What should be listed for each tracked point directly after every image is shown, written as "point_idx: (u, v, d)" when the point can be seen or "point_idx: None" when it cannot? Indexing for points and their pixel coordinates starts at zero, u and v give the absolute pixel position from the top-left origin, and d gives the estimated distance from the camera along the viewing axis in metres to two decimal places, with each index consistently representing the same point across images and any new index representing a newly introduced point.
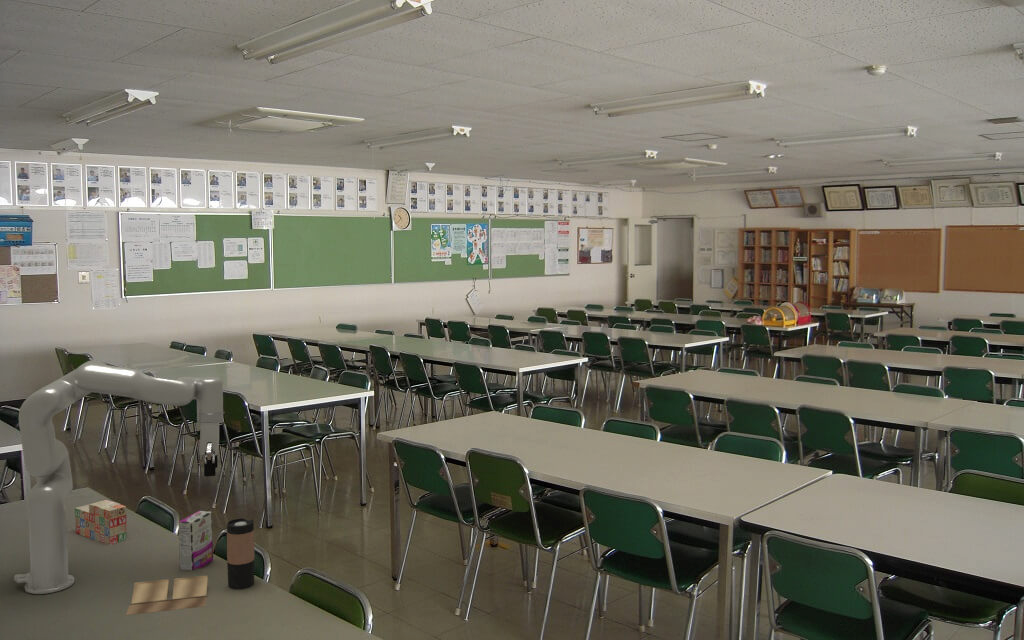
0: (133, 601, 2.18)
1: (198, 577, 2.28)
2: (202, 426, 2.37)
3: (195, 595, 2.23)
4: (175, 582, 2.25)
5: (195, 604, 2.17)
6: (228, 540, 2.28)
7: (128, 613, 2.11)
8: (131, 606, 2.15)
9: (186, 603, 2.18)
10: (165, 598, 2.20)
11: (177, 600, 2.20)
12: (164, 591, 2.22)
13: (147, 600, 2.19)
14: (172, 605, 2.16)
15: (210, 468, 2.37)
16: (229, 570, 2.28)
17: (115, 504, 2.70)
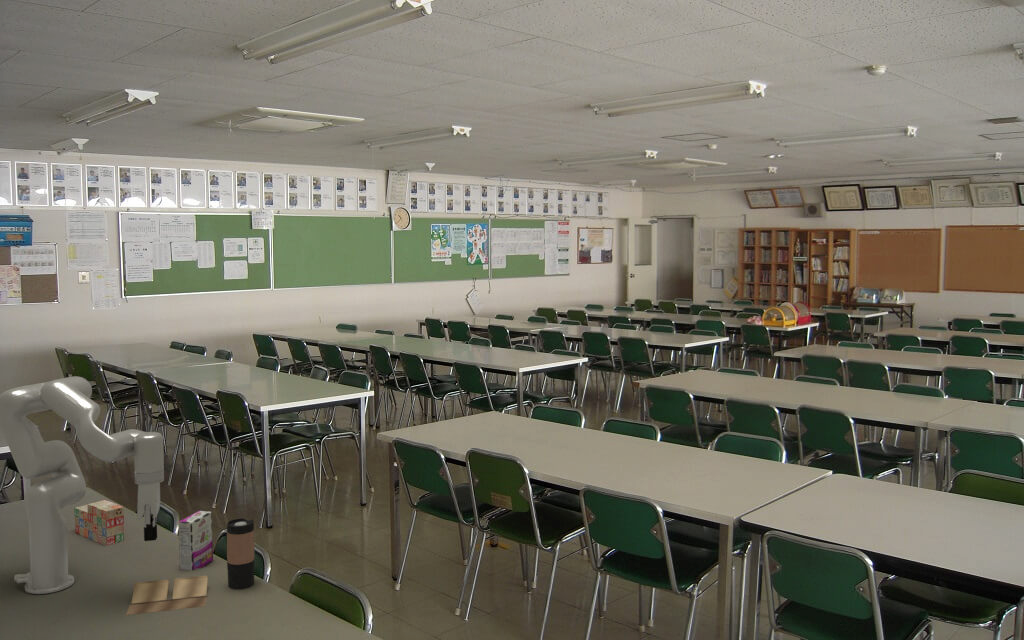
0: (133, 601, 2.18)
1: (198, 577, 2.28)
2: (139, 487, 2.17)
3: (195, 595, 2.23)
4: (175, 582, 2.25)
5: (195, 604, 2.17)
6: (228, 540, 2.28)
7: (128, 613, 2.11)
8: (131, 606, 2.15)
9: (186, 603, 2.18)
10: (165, 598, 2.20)
11: (177, 600, 2.20)
12: (164, 591, 2.22)
13: (147, 600, 2.19)
14: (172, 605, 2.16)
15: (150, 532, 2.21)
16: (229, 570, 2.28)
17: (113, 504, 2.70)
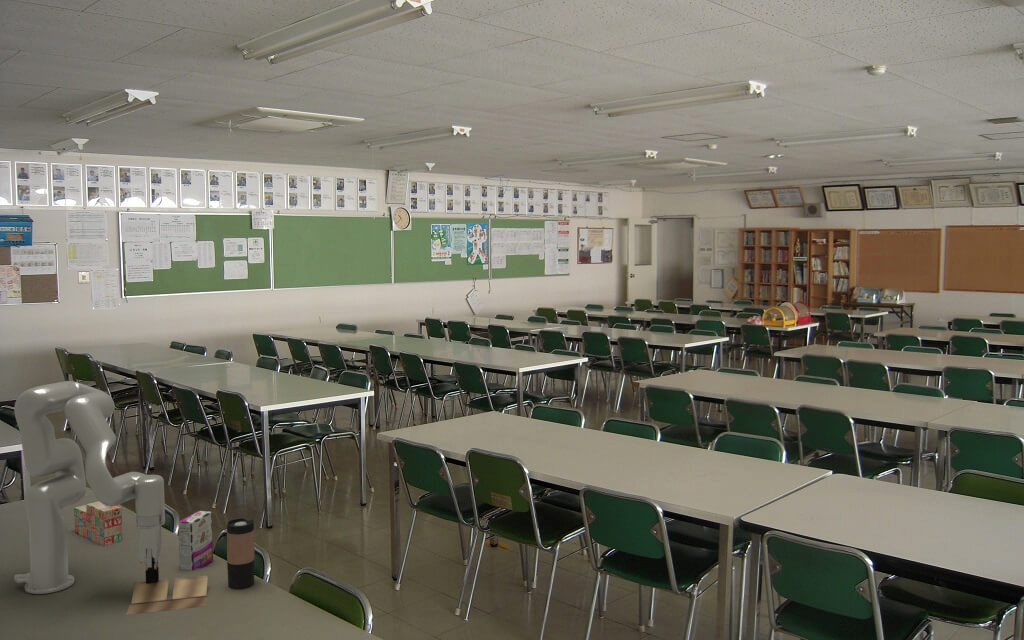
0: (133, 601, 2.18)
1: (198, 577, 2.28)
2: (141, 531, 2.18)
3: (195, 595, 2.23)
4: (175, 582, 2.25)
5: (195, 604, 2.17)
6: (228, 540, 2.28)
7: (128, 613, 2.11)
8: (131, 606, 2.15)
9: (186, 603, 2.18)
10: (165, 598, 2.20)
11: (177, 600, 2.20)
12: (164, 591, 2.22)
13: (147, 600, 2.19)
14: (172, 605, 2.16)
15: (152, 575, 2.22)
16: (229, 570, 2.28)
17: None
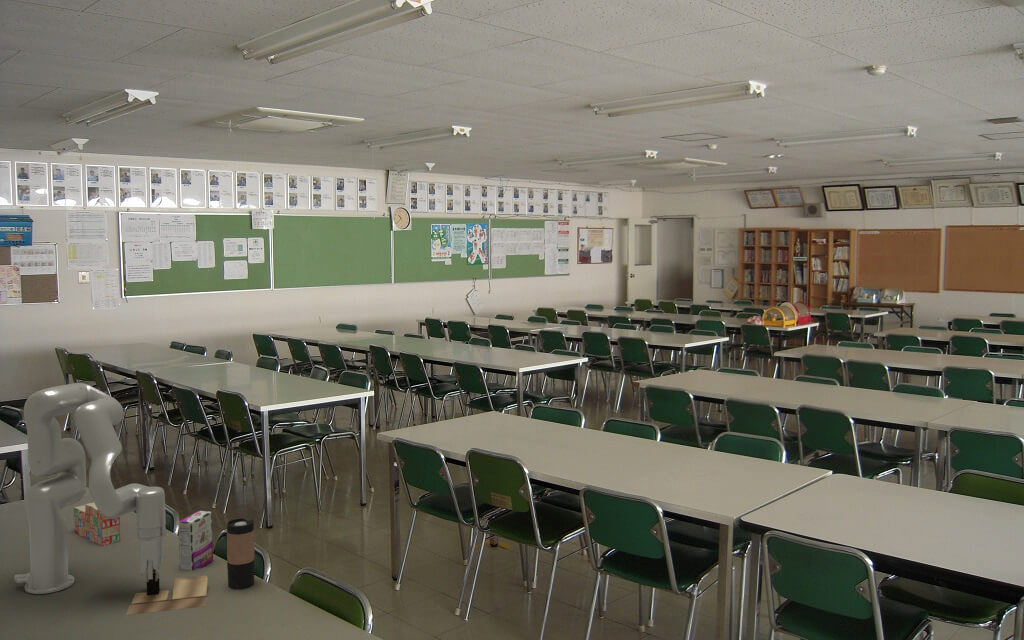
0: (133, 602, 2.18)
1: (198, 577, 2.28)
2: (142, 543, 2.18)
3: (195, 595, 2.23)
4: (175, 582, 2.25)
5: (195, 604, 2.17)
6: (228, 540, 2.28)
7: (128, 613, 2.11)
8: (131, 606, 2.15)
9: (186, 603, 2.18)
10: (165, 599, 2.20)
11: (177, 600, 2.20)
12: (164, 595, 2.23)
13: (147, 601, 2.19)
14: (172, 605, 2.16)
15: (153, 587, 2.22)
16: (229, 570, 2.28)
17: None
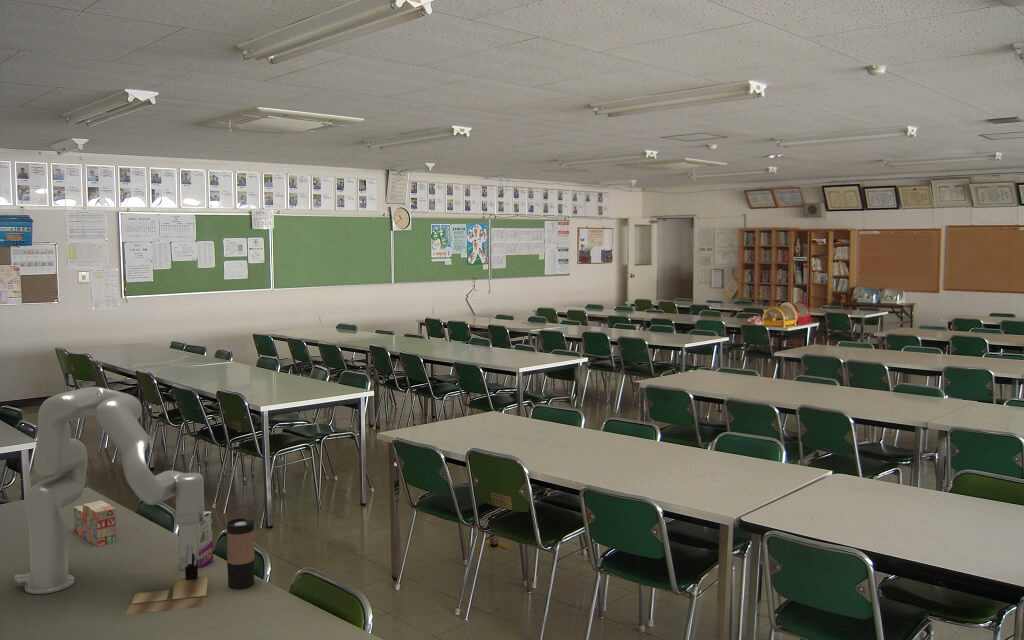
0: (133, 602, 2.18)
1: (198, 577, 2.28)
2: (181, 528, 2.21)
3: (195, 595, 2.23)
4: (175, 582, 2.25)
5: (195, 604, 2.17)
6: (228, 540, 2.28)
7: (128, 613, 2.11)
8: (131, 606, 2.15)
9: (186, 603, 2.18)
10: (165, 599, 2.20)
11: (177, 600, 2.20)
12: (164, 595, 2.23)
13: (147, 601, 2.19)
14: (172, 605, 2.16)
15: (192, 571, 2.25)
16: (229, 570, 2.28)
17: (106, 505, 2.69)
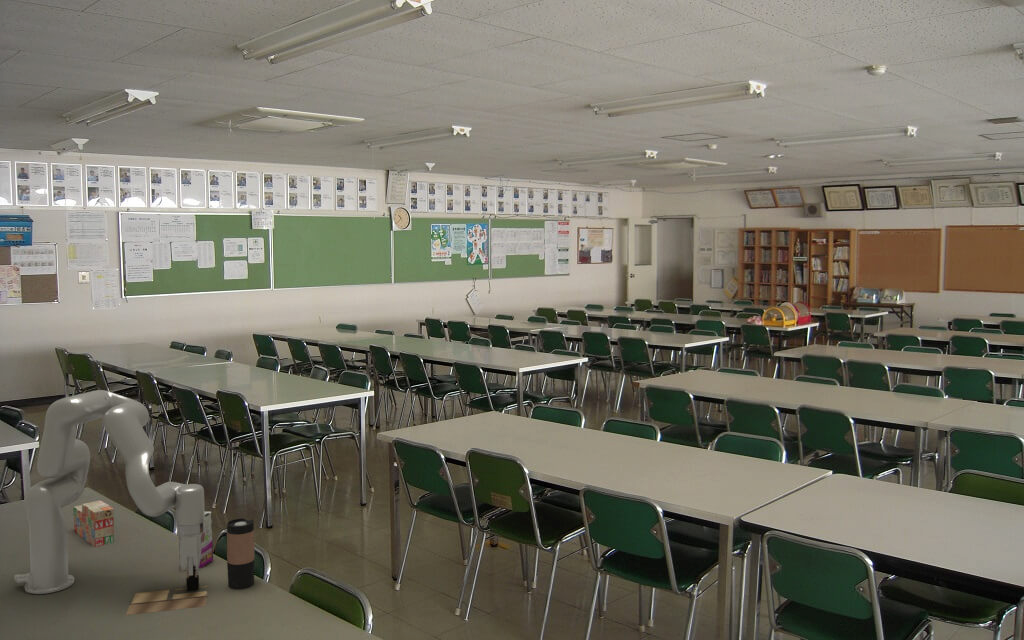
0: (133, 602, 2.18)
1: None
2: (182, 539, 2.21)
3: (195, 596, 2.23)
4: None
5: (195, 604, 2.17)
6: (228, 540, 2.28)
7: (128, 613, 2.11)
8: (131, 606, 2.15)
9: (186, 603, 2.18)
10: (165, 599, 2.20)
11: (177, 600, 2.20)
12: (164, 595, 2.23)
13: (147, 601, 2.19)
14: (172, 605, 2.16)
15: (193, 582, 2.26)
16: (229, 570, 2.28)
17: (104, 506, 2.68)
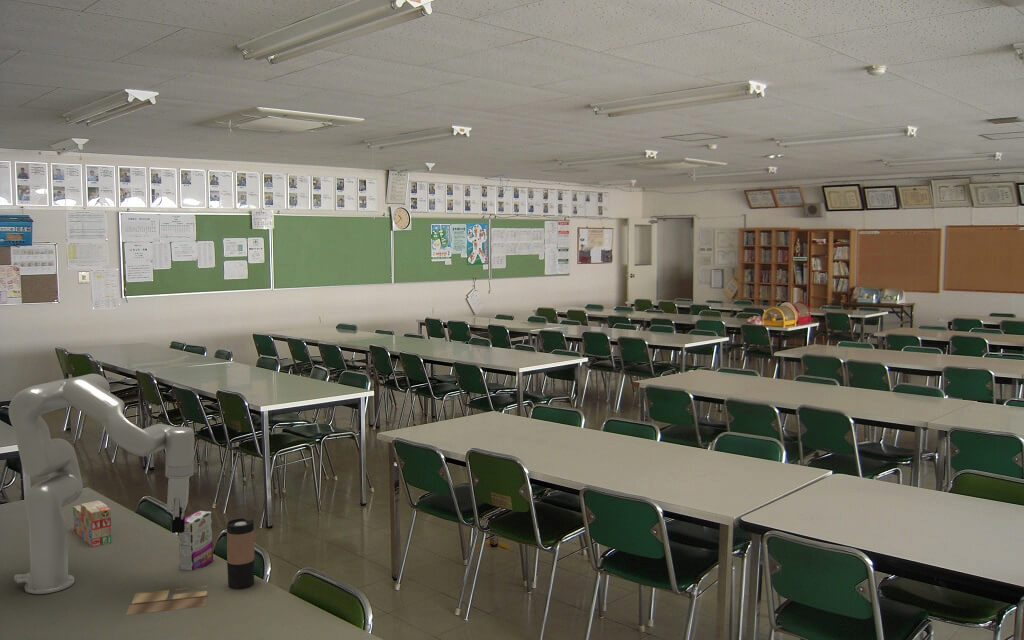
0: (133, 602, 2.18)
1: (198, 587, 2.29)
2: (170, 480, 2.22)
3: (195, 596, 2.23)
4: None
5: (195, 604, 2.17)
6: (228, 540, 2.28)
7: (128, 613, 2.11)
8: (131, 606, 2.15)
9: (186, 603, 2.18)
10: (165, 599, 2.20)
11: (177, 600, 2.20)
12: (164, 595, 2.23)
13: (147, 601, 2.19)
14: (172, 605, 2.16)
15: (178, 524, 2.26)
16: (229, 570, 2.28)
17: (102, 506, 2.68)
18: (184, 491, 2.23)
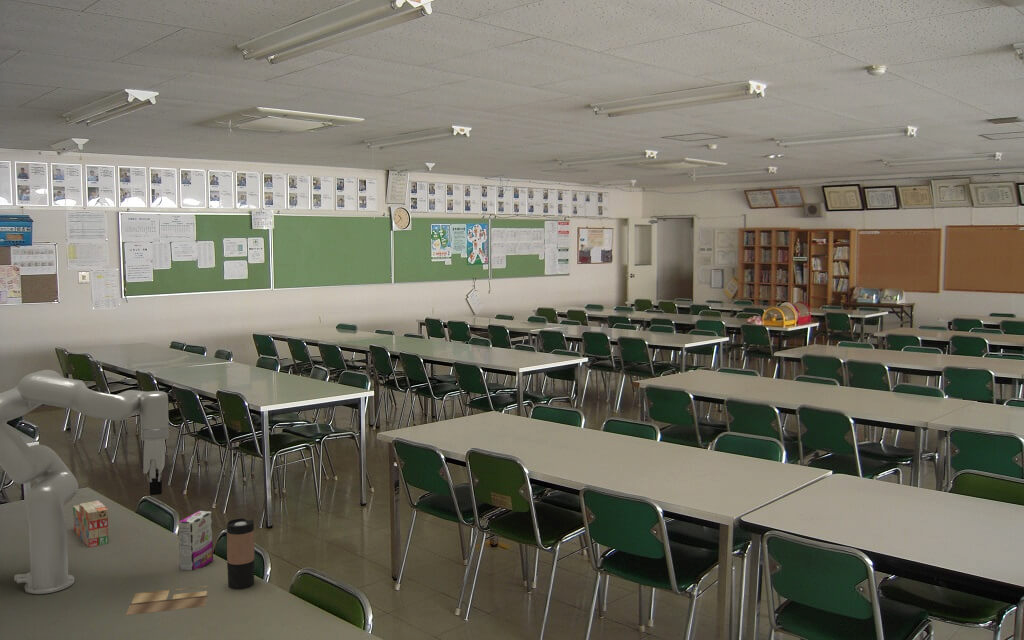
0: (133, 602, 2.18)
1: (198, 587, 2.29)
2: (145, 443, 2.27)
3: (195, 596, 2.23)
4: None
5: (195, 604, 2.17)
6: (228, 540, 2.28)
7: (128, 613, 2.11)
8: (131, 606, 2.15)
9: (186, 603, 2.18)
10: (165, 599, 2.20)
11: (177, 600, 2.20)
12: (164, 595, 2.23)
13: (147, 601, 2.19)
14: (172, 605, 2.16)
15: (156, 486, 2.31)
16: (229, 570, 2.28)
17: (100, 506, 2.68)
18: (160, 453, 2.28)
